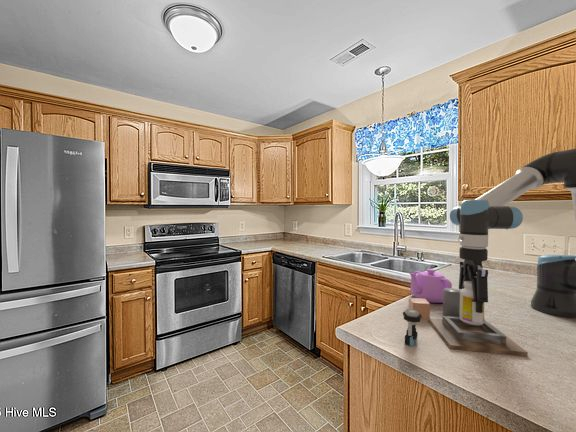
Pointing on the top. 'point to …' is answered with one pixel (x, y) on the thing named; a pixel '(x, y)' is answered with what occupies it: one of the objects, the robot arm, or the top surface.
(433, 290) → the teapot
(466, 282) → the supplement bottle
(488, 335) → the socket board
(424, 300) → the terracotta block
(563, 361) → the top surface
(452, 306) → the grey rounded capsule
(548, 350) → the top surface
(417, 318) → the push button
